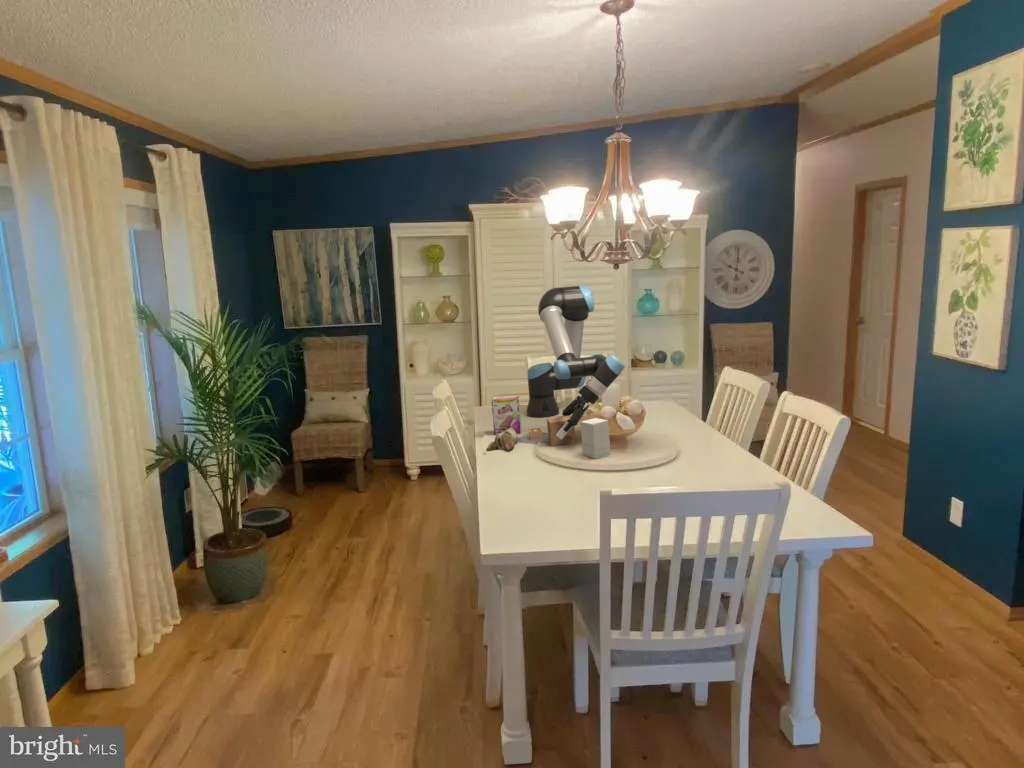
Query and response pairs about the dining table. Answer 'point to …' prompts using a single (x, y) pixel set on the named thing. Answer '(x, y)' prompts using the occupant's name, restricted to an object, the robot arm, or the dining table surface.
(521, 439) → the board
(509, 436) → the ceramic sculpture
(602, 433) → the supplement box
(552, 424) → the wooden block
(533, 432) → the dish
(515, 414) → the candy bar box
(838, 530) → the dining table surface
